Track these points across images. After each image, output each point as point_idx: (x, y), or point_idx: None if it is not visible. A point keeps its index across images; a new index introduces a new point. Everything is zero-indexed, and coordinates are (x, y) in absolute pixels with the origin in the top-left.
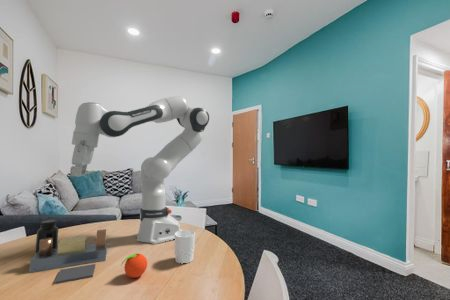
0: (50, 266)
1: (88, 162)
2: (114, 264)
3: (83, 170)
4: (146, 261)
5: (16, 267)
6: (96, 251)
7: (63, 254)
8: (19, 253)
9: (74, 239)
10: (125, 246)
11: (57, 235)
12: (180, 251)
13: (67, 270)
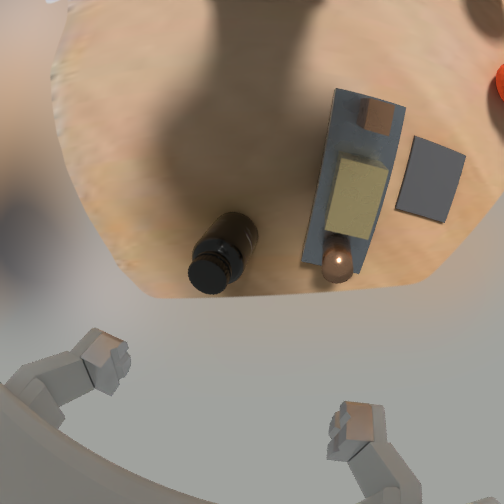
0: None
1: (62, 460)
2: (433, 95)
3: (87, 372)
4: None
5: (308, 278)
6: (400, 132)
7: None
8: None
9: (363, 198)
10: (315, 34)
11: (228, 229)
12: None
13: (410, 196)
